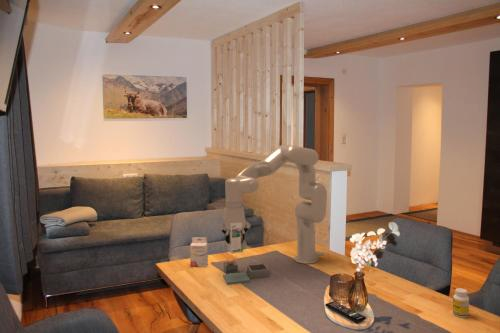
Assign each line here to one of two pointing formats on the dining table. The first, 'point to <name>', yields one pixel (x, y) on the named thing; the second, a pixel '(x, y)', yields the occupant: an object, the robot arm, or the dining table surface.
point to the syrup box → (235, 238)
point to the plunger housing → (230, 268)
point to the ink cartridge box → (199, 252)
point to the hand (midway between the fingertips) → (235, 241)
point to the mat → (236, 278)
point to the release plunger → (230, 260)
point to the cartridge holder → (258, 271)
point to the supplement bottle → (461, 303)
